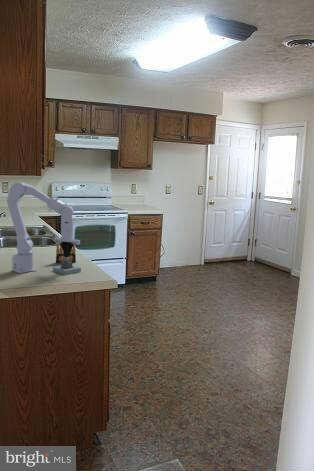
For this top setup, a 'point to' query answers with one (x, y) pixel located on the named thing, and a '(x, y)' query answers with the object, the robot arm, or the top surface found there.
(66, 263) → the plug
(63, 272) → the socket plate
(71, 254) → the ammunition clip
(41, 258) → the top surface
